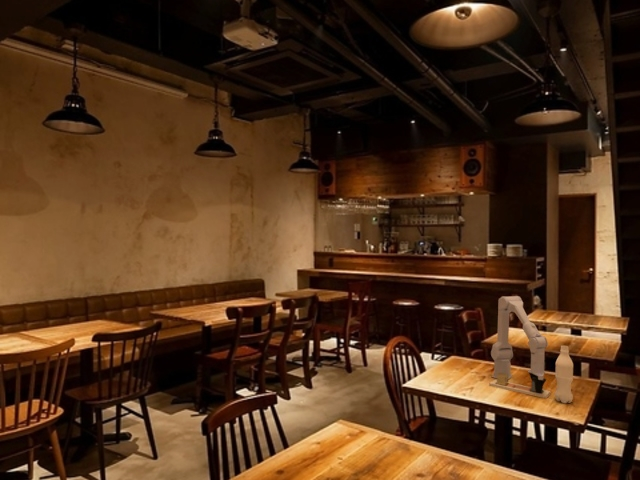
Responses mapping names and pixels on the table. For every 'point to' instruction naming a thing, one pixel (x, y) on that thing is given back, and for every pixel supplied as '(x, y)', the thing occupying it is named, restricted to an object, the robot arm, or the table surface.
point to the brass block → (502, 379)
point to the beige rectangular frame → (520, 389)
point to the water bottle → (564, 376)
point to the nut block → (534, 387)
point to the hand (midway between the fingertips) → (537, 390)
